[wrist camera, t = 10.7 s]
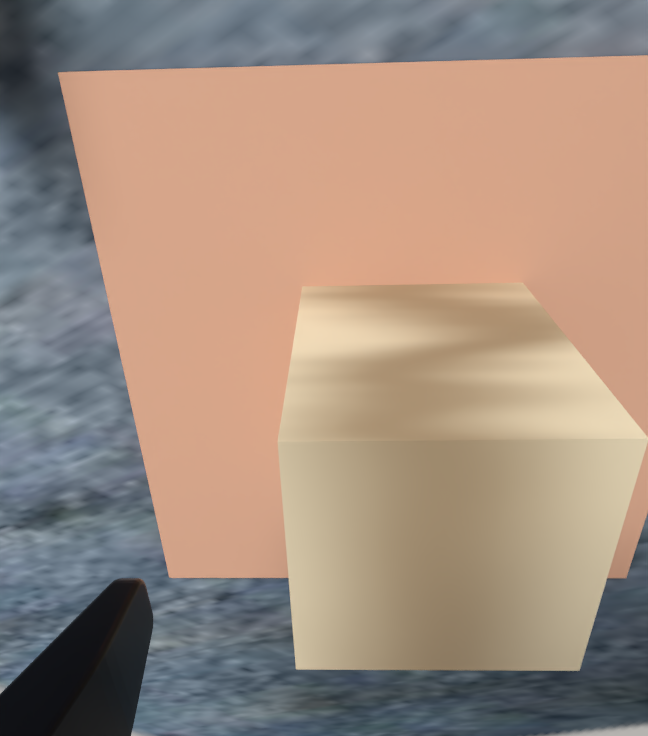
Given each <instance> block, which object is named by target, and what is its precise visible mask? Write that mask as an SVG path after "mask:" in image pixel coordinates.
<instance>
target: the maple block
mask: <svg viewBox="0 0 648 736" xmlns="http://www.w3.org/2000/svg"><path fill="white" fill-rule="evenodd" d="M647 443H648V437H647V436H646V434H645V433H644V432H643V431H642V429H641V428H640V427H639V426H638V425H637V423H636V422H635V421H634V420H633V418H632V417H631V416H630V415H629V413H628V412H627V411H626V410H625V408H624V407H623V406H622V405H621V403H620V402H619V401H618V400H617V399H616V397H615V396H614V395H613V394H612V392H611V391H610V390H609V389H608V387H607V386H606V385H605V384H604V382H603V381H602V380H601V379H600V377H599V376H598V375H597V374H596V373H595V371H594V370H593V369H592V368H591V366H590V365H589V364H588V363H587V361H586V360H585V359H584V358H583V356H582V355H581V354H580V353H579V351H578V350H577V349H576V348H575V347H574V345H573V344H572V343H571V342H570V340H569V339H568V338H567V337H566V335H565V334H564V333H563V332H562V330H561V329H560V328H559V327H558V325H557V324H556V323H555V322H554V321H553V319H552V318H551V317H550V316H549V314H548V313H547V312H546V311H545V309H544V308H543V307H542V306H541V304H540V303H539V302H538V301H537V299H536V298H535V297H534V296H533V295H532V293H531V292H530V291H529V290H528V288H527V287H526V286H525V285H524V283H471V284H415V285H359V286H303V287H302V291H301V298H300V304H299V310H298V316H297V323H296V329H295V335H294V341H293V348H292V354H291V360H290V366H289V373H288V379H287V385H286V392H285V398H284V404H283V410H282V417H281V423H280V429H279V435H278V454H279V467H280V479H281V491H282V503H283V516H284V528H285V540H286V552H287V565H288V577H289V589H290V601H291V614H292V626H293V638H294V650H295V663H296V669H299V670H510V671H579V670H580V667H581V664H582V660H583V657H584V654H585V650H586V647H587V644H588V640H589V637H590V634H591V630H592V627H593V623H594V620H595V617H596V613H597V610H598V607H599V603H600V600H601V597H602V593H603V590H604V587H605V583H606V580H607V577H608V573H609V570H610V567H611V563H612V560H613V557H614V553H615V550H616V547H617V543H618V540H619V537H620V533H621V530H622V527H623V523H624V520H625V517H626V513H627V510H628V507H629V503H630V500H631V497H632V493H633V490H634V486H635V483H636V480H637V476H638V473H639V470H640V466H641V463H642V460H643V456H644V453H645V450H646V446H647Z"/></svg>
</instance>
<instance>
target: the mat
mask: <svg viewBox="0 0 648 736" xmlns="http://www.w3.org/2000/svg"><path fill="white" fill-rule="evenodd" d="M58 75H59V80H60V84H61V89H62V93H63V98H64V102H65V107H66V111H67V116H68V120H69V125H70V129H71V134H72V139H73V143H74V148H75V152H76V157H77V161H78V166H79V170H80V175H81V179H82V184H83V188H84V193H85V197H86V202H87V206H88V211H89V215H90V220H91V225H92V229H93V234H94V238H95V243H96V247H97V252H98V256H99V261H100V265H101V270H102V274H103V279H104V283H105V288H106V292H107V297H108V302H109V306H110V311H111V315H112V320H113V324H114V329H115V333H116V338H117V342H118V347H119V351H120V356H121V360H122V365H123V369H124V374H125V378H126V383H127V388H128V392H129V397H130V401H131V406H132V410H133V415H134V419H135V424H136V428H137V433H138V437H139V442H140V446H141V451H142V455H143V460H144V465H145V469H146V474H147V478H148V483H149V487H150V492H151V496H152V501H153V505H154V510H155V514H156V519H157V523H158V528H159V532H160V537H161V541H162V546H163V551H164V555H165V560H166V564H167V569H168V573H169V578H289V577H288V565H287V552H286V540H285V528H284V516H283V503H282V491H281V479H280V467H279V454H278V435H279V429H280V423H281V417H282V410H283V404H284V398H285V392H286V385H287V379H288V373H289V366H290V360H291V354H292V348H293V341H294V335H295V329H296V323H297V316H298V310H299V304H300V298H301V291H302V287H303V286H359V285H415V284H471V283H524V285H525V286H526V287H527V288H528V290H529V291H530V292H531V293H532V295H533V296H534V297H535V298H536V299H537V301H538V302H539V303H540V304H541V306H542V307H543V308H544V309H545V311H546V312H547V313H548V314H549V316H550V317H551V318H552V319H553V321H554V322H555V323H556V324H557V325H558V327H559V328H560V329H561V330H562V332H563V333H564V334H565V335H566V337H567V338H568V339H569V340H570V342H571V343H572V344H573V345H574V347H575V348H576V349H577V350H578V351H579V353H580V354H581V355H582V356H583V358H584V359H585V360H586V361H587V363H588V364H589V365H590V366H591V368H592V369H593V370H594V371H595V373H596V374H597V375H598V376H599V377H600V379H601V380H602V381H603V382H604V384H605V385H606V386H607V387H608V389H609V390H610V391H611V392H612V394H613V395H614V396H615V397H616V399H617V400H618V401H619V402H620V403H621V405H622V406H623V407H624V408H625V410H626V411H627V412H628V413H629V415H630V416H631V417H632V418H633V420H634V421H635V422H636V423H637V425H638V426H639V427H640V428H641V429H642V431H643V432H644V433H645V434H646V436H647V437H648V55H643V56H607V57H572V58H537V59H502V60H466V61H431V62H396V63H361V64H325V65H290V66H255V67H220V68H184V69H149V70H114V71H78V72H58ZM647 513H648V443H647V446H646V450H645V453H644V456H643V460H642V463H641V466H640V470H639V473H638V476H637V480H636V483H635V486H634V490H633V493H632V497H631V500H630V503H629V507H628V510H627V513H626V517H625V520H624V523H623V527H622V530H621V533H620V537H619V540H618V543H617V547H616V550H615V553H614V557H613V560H612V563H611V567H610V570H609V573H608V577H607V578H626V577H627V574H628V571H629V568H630V565H631V562H632V559H633V556H634V553H635V550H636V547H637V543H638V540H639V537H640V534H641V531H642V528H643V525H644V522H645V519H646V516H647Z"/></svg>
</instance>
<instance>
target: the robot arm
mask: <svg viewBox="0 0 648 736" xmlns="http://www.w3.org/2000/svg"><path fill="white" fill-rule="evenodd" d="M152 629H153V613H152V609H151V605H150V601H149V597H148V593H147V589H146V585H145V583H144V581H143V580H142V579H139V578H121V579H117V580H115V581H113V582H112V583H111V584H110V585H109V586H108V587H107V588H106V589H105V590H104V591H103V592H102V593H101V594H100V595H99V596H98V597H97V598H96V599H95V600H94V601H93V602H92V603H91V604H90V605H89V606H88V607H87V608H86V609H85V610H84V611H83V612H82V613H81V614H80V615H79V616H78V617H77V618H76V619H75V620H74V621H73V622H72V623H71V624H70V625H69V626H68V627H67V628H66V629H65V630H64V631H63V632H62V633H61V634H60V635H59V636H58V637H57V638H56V639H55V640H54V641H53V642H52V643H51V644H50V645H49V646H48V647H47V648H46V649H45V650H44V651H43V652H42V653H41V654H40V655H39V656H38V657H37V658H36V659H35V660H34V661H33V662H32V663H31V664H30V665H29V666H28V667H27V668H26V669H25V670H24V671H23V672H22V673H21V674H20V675H19V676H18V677H17V678H16V679H15V680H14V681H13V682H12V683H11V684H10V685H9V686H8V687H7V688H6V689H5V690H4V691H3V692H2V693H1V694H0V736H131V732H132V728H133V723H134V719H135V714H136V709H137V704H138V699H139V694H140V689H141V684H142V679H143V674H144V669H145V664H146V659H147V654H148V649H149V645H150V640H151V635H152Z"/></svg>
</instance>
